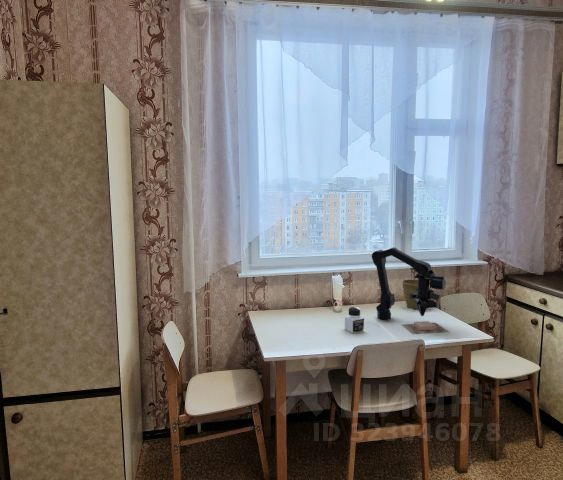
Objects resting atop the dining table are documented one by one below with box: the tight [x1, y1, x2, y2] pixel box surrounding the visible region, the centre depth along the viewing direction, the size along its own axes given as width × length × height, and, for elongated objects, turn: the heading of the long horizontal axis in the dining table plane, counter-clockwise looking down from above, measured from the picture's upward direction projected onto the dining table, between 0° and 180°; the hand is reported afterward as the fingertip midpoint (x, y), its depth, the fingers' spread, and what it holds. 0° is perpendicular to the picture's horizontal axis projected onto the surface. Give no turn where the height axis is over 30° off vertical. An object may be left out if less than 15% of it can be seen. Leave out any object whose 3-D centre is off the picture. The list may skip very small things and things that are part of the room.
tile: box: [413, 320, 435, 330], centre depth 211 cm, size 8×2×7 cm
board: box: [401, 322, 450, 335], centre depth 211 cm, size 20×14×1 cm
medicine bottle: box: [344, 306, 365, 334], centre depth 211 cm, size 7×7×12 cm
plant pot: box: [402, 278, 418, 310], centre depth 249 cm, size 15×15×16 cm
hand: (422, 315), depth 213 cm, fingers closed
